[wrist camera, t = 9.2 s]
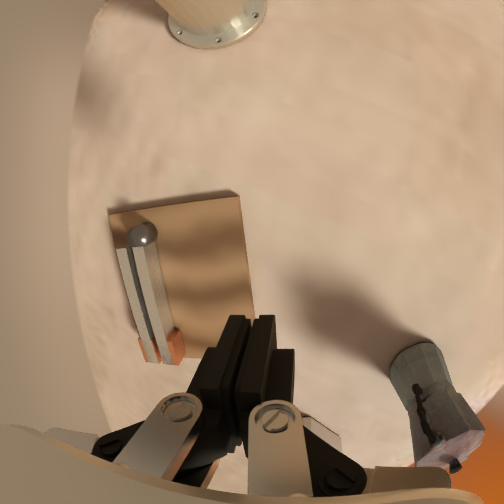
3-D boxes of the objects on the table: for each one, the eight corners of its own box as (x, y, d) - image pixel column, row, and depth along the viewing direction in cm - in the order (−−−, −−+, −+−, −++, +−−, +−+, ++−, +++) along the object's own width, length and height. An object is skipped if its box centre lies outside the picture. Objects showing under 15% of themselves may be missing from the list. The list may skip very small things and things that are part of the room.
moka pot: (412, 401, 38) (440, 496, 19) (359, 359, 37) (381, 478, 18) (456, 365, 35) (503, 456, 16) (410, 315, 34) (469, 424, 15)
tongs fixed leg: (124, 242, 36) (112, 249, 33) (139, 241, 35) (127, 248, 33) (154, 350, 41) (145, 361, 38) (167, 351, 40) (159, 363, 37)
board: (113, 213, 37) (108, 215, 35) (239, 195, 33) (237, 196, 32) (149, 349, 43) (145, 354, 41) (260, 355, 39) (258, 360, 38)
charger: (286, 396, 41) (341, 435, 43) (246, 417, 44) (302, 452, 45) (284, 417, 37) (342, 454, 38) (241, 437, 40) (300, 471, 41)
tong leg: (137, 223, 35) (124, 228, 32) (156, 220, 34) (145, 225, 31) (168, 351, 40) (159, 363, 37) (186, 353, 40) (178, 365, 37)
